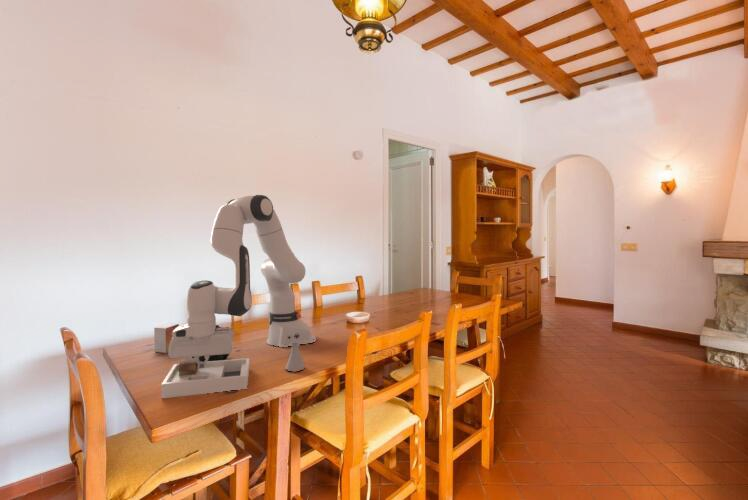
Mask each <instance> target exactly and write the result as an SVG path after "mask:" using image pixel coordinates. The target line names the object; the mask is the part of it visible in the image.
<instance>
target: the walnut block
mask: <svg viewBox="0 0 748 500" xmlns="http://www.w3.org/2000/svg"><path fill="white" fill-rule="evenodd" d="M178 364H179V376H184V375H195V374H196V372H197V369H198V364H197V363H196V361H195V360H194V358H192V357H188V358H182V359H180V361H179V363H178Z"/></svg>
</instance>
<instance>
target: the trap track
mask: <svg viewBox="0 0 748 500" xmlns="http://www.w3.org/2000/svg"><path fill="white" fill-rule="evenodd" d="M249 375H250V358H249V357H247V358H246V357H245V358H234V359H225V360H219V361H207V362H206V368H200V369H197V372H196V374H195V375H184V376H179V363H174V364H173V365H172V367H171V368H170V370H169V371H168V373H167V375H166V376H165V377H164V379H163V381H162V382H161V384H160V386H161V387H160V389H161V396H160V397H161V399H168V398H178V397H188V396H198V395H199V396H200V395H208V394H207V393H209V394H215V393H214V392H219V393H224V392H223V391H228V392H231V391H230V390H238V391H241V390H240V389H247V390H248V387H247V386H248V385H249V378H248V377H249Z"/></svg>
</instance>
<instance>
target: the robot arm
mask: <svg viewBox="0 0 748 500" xmlns="http://www.w3.org/2000/svg"><path fill="white" fill-rule="evenodd" d="M247 224H253V225H254V228H255V232H256V236H257V238H258V241H259V243H260V246H261V248H262V249H261V250H262V251H263V253H264V254H265V255H267V256H268V258H267V259H265V260H264V261H263V262H262V263H261V265H260V266H261V267H260V272H261V274H262V276H263V277H264V279H265V281H266V283H267V288H268V291H269V292H268V293H269V301H270V303H269V307H270V308H269V309H270V310H269V314H268V324H269V328H268V329H269V330H268V335H267V339H266V343H267V344H268V345H270V346H273V345H274V347H278V346H279V348H282V347H284V348H289V347H288V346H291V343H293V342H298V343H300V344H306V343H312V342H315V341H316V342H317V337H316V336H315V335H314V334H312V331H311V328H310V326H309V325H308V324H307V323H306V322H305V321H303V320H301V319H300V318H301V316H302V315H301V313H300V312H299V311H298V310H296V307H295V306H296V295H295V293H294V291H293V289H292V288H291V286H290V285H291V284H297V283H299V282H301V281H303V279H304V278H305V275H306V267H305V265H304V264H303V263H302V262H301V261H300V260H299V259H298V257H297V256H296V255H295V254H294V252H293V250H292V249H291V247H290V245H289V243H288V242H287V239H286V236H285V233H284V230H283V227H282V224H281V221H280V220H279V216H278V215H277V213H276V211H275V209H274V205H273V202H272V200H271V199H270V198H269V197H268V196H266V195H263V194H255V195H246V196H242V197H239V198H238V197H237V198H236V199H230V200H227V202H226V203H225V204H223V205H222V206H220V207H219V209H218V210H217V213H216V215H215V217H214V221H213V225H212V229H211V234H210V235H211V236H210V244H211V247H212V249H213V250H214V251H215V252H216V253H218V254H219V255H222V256H223V257H225V258H227V259H229V260H231V261H232V262H233V263H234V265H235V286H234V287H222V286H221V287H219V286H216V285H215V284H214V282H213V281H211V280H199V281H195V282H192V283H191V284H190V285H189V288H188V292H187V301H186V302H187V304H186V307H187V312H188V316H187V319H186V320H187V323H184V324H182V325H179V326H178V327H177V328H175V329H174V330H173V332H172V337H173V338H172V339H171V341H170V343H169V350H168V352H167V353H168V357H169V358H170V359H179V358H180V359H181V358H182V359H184V358H192V357H194V360H195V361H196V363H197V364H198V369H200V368H206V362H207V361H208V359H209V357H210V355H222V354H229V355H230V354H232V353H233V351H234V341H233V339H234V338H235V331H234V329H233V328H231V327H229V326H226V327H221V326H219V327H220V328H216V325H217V324H216V322H217V317H216V314H217V315H226V316H232V317H233V316H234V317H242V316H244V315H245V314H246V313H248V312H249V311H250V309H251V307H252V303H253V301H252V300H253V299H252V297H253V296H252V291H251V270H250V267H251V266H250V253H249V249H248V247H246V246H245V245H244V243H243V242H244V241H243V234H244V226H245V225H247ZM316 342H315V343H316ZM306 345H307V344H306ZM200 356H205V359H206V360H205V361H204V362H200V360H199V357H200Z"/></svg>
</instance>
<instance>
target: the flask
mask: <svg viewBox="0 0 748 500" xmlns="http://www.w3.org/2000/svg"><path fill="white" fill-rule="evenodd" d="M291 346H292V347H290V348H291V351H290V355H289V356H288V360H287V362H286V365H285V368H284V370H285V369H287V370H288V371H297V370H301V369H303V368H304V367H305V368H306V366H305V363H304V361H303V358H302V354H301V351H300V346H301V345H300V343H298V342H293V343H291ZM288 371H287V372H288Z"/></svg>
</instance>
